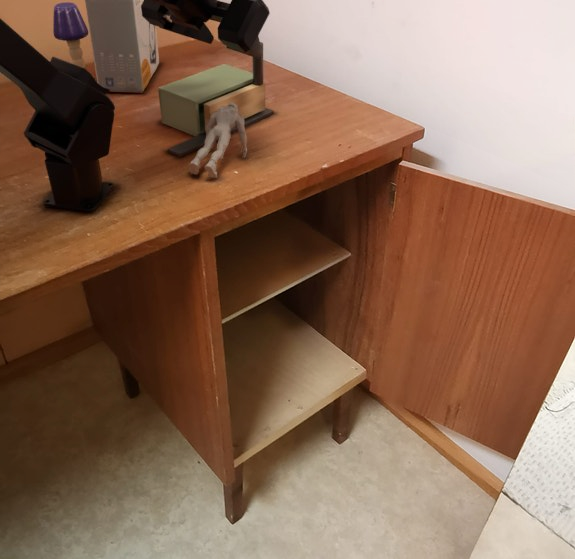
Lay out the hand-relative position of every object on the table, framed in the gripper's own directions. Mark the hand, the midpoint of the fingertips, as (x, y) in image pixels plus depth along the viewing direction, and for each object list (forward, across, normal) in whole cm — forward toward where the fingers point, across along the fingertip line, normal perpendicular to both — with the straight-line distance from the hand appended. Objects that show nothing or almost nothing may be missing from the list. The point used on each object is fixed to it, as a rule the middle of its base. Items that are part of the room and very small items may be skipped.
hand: (235, 47), depth 86 cm
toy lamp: (-2, +18, +18) cm, 25 cm away
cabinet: (+6, +4, +10) cm, 12 cm away
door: (+8, 0, +8) cm, 11 cm away
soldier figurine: (+1, -6, +16) cm, 17 cm away
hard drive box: (+10, +27, +7) cm, 30 cm away
